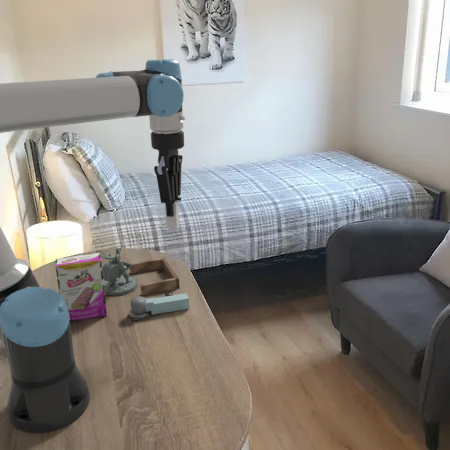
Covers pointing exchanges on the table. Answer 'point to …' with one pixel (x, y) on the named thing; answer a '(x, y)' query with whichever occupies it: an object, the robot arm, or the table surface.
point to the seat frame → (157, 264)
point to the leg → (159, 304)
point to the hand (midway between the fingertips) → (172, 227)
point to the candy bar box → (82, 286)
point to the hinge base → (146, 314)
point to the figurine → (117, 276)
